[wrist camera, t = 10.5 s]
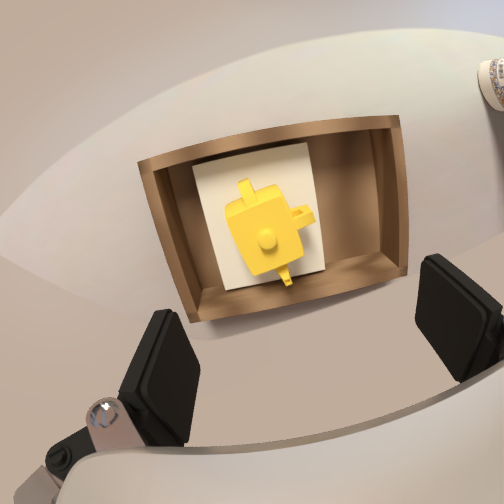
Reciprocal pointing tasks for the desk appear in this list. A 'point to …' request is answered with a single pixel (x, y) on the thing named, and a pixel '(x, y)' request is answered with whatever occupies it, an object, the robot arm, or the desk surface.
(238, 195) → the plate
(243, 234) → the teapot
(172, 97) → the desk surface
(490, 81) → the bath foam
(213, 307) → the box
